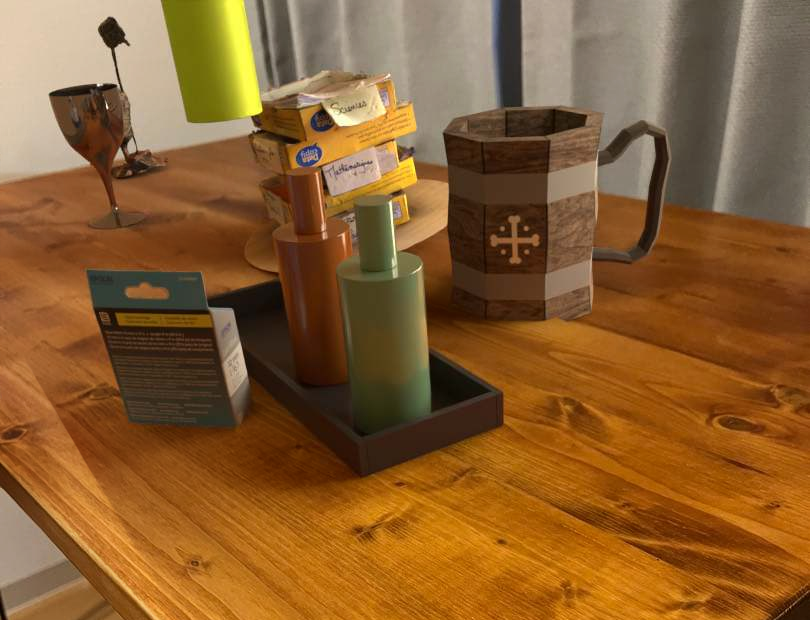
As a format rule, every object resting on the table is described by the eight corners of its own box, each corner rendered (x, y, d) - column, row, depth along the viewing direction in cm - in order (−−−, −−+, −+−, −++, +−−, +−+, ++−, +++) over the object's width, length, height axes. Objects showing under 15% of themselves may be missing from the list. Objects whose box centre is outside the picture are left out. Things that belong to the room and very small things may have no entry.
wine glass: (102, 233, 107) (65, 99, 98) (75, 222, 112) (37, 93, 103) (160, 217, 111) (129, 86, 102) (131, 207, 116) (99, 81, 107)
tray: (362, 488, 56) (357, 444, 54) (198, 336, 79) (190, 301, 77) (504, 434, 61) (503, 391, 59) (310, 304, 83) (305, 270, 81)
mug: (467, 340, 74) (461, 150, 65) (434, 285, 84) (425, 116, 76) (688, 308, 76) (712, 119, 67) (629, 258, 86) (642, 91, 78)
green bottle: (378, 446, 59) (353, 220, 50) (340, 415, 63) (311, 200, 54) (447, 421, 61) (436, 199, 52) (407, 392, 65) (389, 182, 56)
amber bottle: (314, 393, 66) (282, 186, 57) (283, 367, 70) (250, 171, 61) (378, 372, 68) (357, 169, 59) (345, 348, 72) (321, 156, 63)
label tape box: (258, 412, 66) (226, 250, 59) (238, 439, 63) (201, 271, 56) (152, 407, 68) (108, 249, 61) (127, 433, 65) (78, 270, 58)
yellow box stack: (257, 294, 86) (224, 109, 76) (234, 224, 106) (205, 70, 96) (495, 256, 90) (492, 75, 80) (430, 196, 110) (422, 44, 100)
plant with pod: (95, 171, 134) (54, 21, 122) (169, 161, 136) (135, 12, 124) (93, 184, 128) (50, 27, 116) (171, 172, 130) (136, 17, 118)
